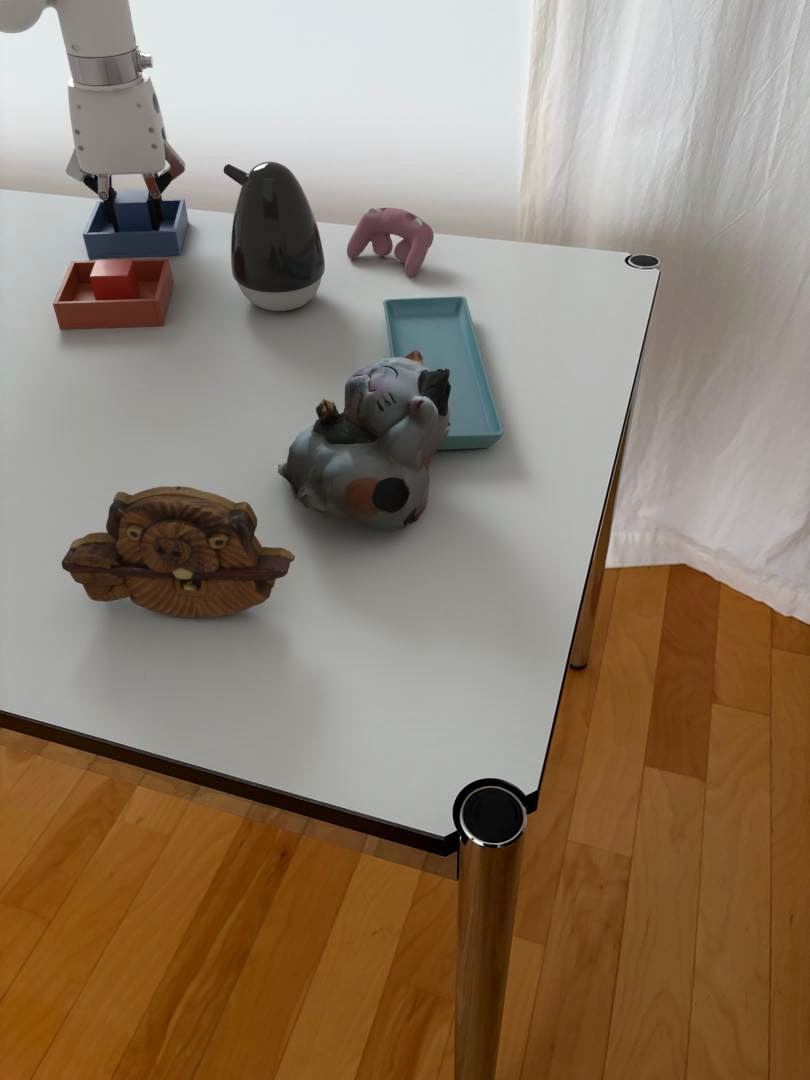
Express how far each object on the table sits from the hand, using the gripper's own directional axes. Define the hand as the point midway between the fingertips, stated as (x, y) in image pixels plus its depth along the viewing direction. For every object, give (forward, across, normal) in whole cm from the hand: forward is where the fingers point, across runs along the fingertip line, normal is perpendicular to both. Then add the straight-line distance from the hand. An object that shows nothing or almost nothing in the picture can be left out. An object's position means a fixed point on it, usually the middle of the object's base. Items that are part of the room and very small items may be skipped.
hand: (138, 225), depth 112 cm
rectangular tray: (+2, -34, +34) cm, 48 cm away
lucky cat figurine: (+2, -26, +51) cm, 57 cm away
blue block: (0, 0, 0) cm, 0 cm away
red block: (+1, 0, +17) cm, 17 cm away
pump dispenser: (+2, -18, +17) cm, 25 cm away
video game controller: (+2, -31, +8) cm, 32 cm away
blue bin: (+2, 0, 0) cm, 2 cm away
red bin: (+2, 0, +17) cm, 17 cm away
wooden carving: (+2, -12, +64) cm, 65 cm away
